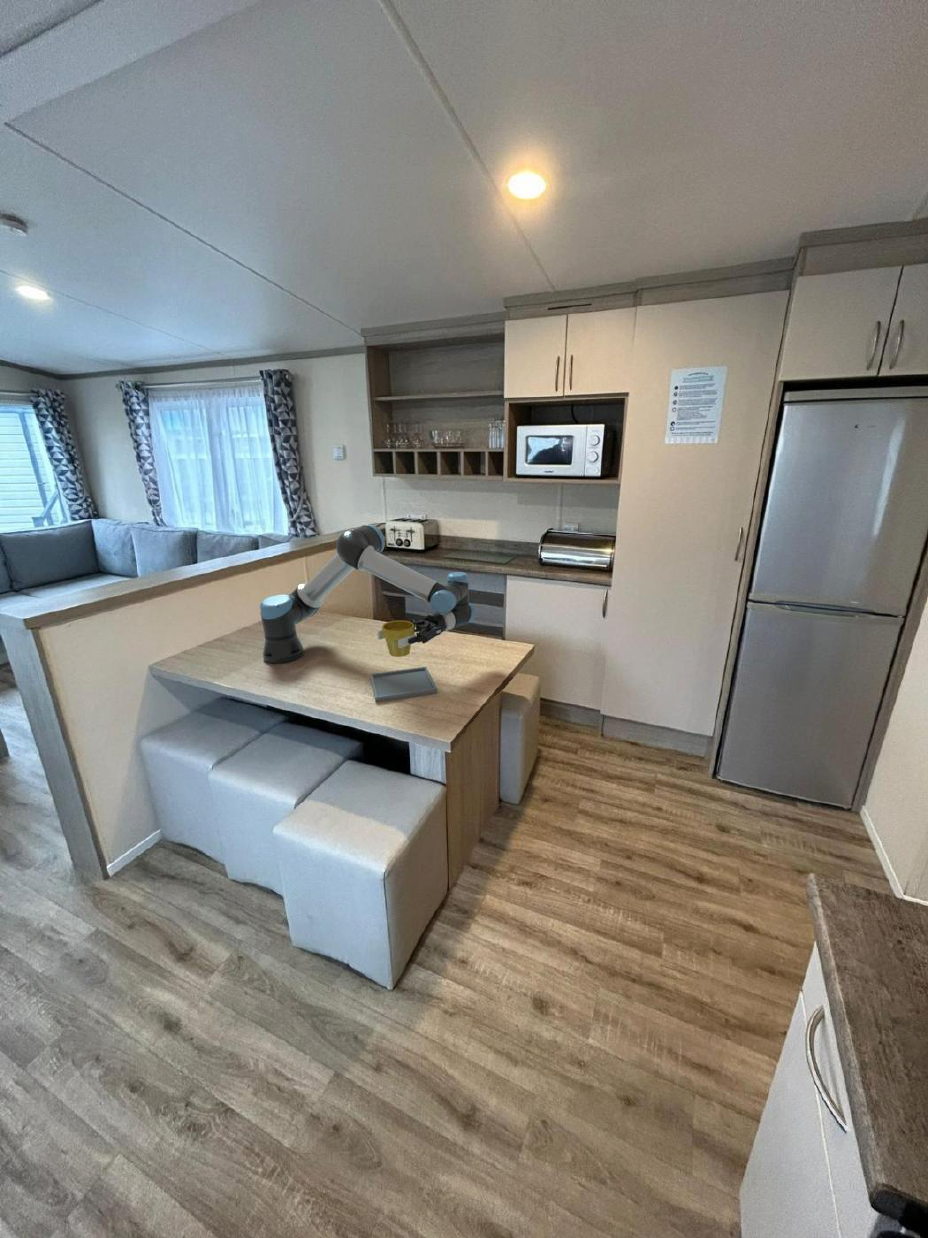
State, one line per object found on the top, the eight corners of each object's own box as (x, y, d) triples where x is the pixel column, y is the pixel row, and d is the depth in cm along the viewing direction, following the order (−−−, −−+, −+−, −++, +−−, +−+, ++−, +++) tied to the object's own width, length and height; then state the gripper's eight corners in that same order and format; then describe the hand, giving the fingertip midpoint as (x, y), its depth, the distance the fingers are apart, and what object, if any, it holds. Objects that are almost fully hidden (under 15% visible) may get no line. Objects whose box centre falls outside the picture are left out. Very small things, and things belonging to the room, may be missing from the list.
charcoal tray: (375, 702, 153) (375, 697, 153) (370, 678, 170) (370, 673, 169) (437, 693, 158) (436, 688, 158) (426, 671, 175) (426, 666, 174)
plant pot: (420, 648, 163) (419, 621, 160) (407, 661, 154) (405, 632, 150) (393, 645, 166) (391, 618, 163) (378, 657, 157) (376, 629, 154)
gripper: (462, 639, 163) (411, 660, 149) (419, 624, 179) (369, 641, 164) (462, 619, 161) (410, 637, 146) (417, 605, 176) (367, 620, 161)
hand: (388, 639), depth 155 cm, fingers closed on plant pot, 10 cm apart
